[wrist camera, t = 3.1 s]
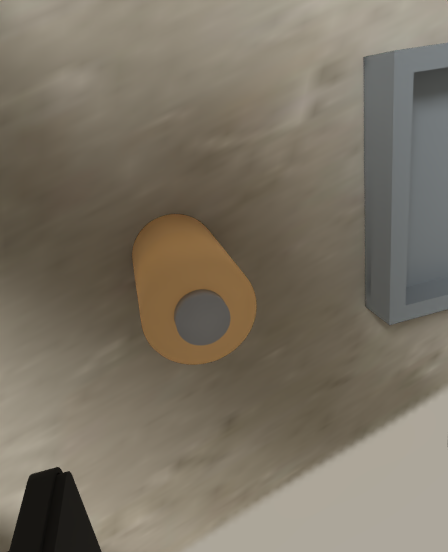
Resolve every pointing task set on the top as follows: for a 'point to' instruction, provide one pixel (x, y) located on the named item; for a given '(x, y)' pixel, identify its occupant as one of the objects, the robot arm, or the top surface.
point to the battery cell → (190, 291)
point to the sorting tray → (406, 182)
